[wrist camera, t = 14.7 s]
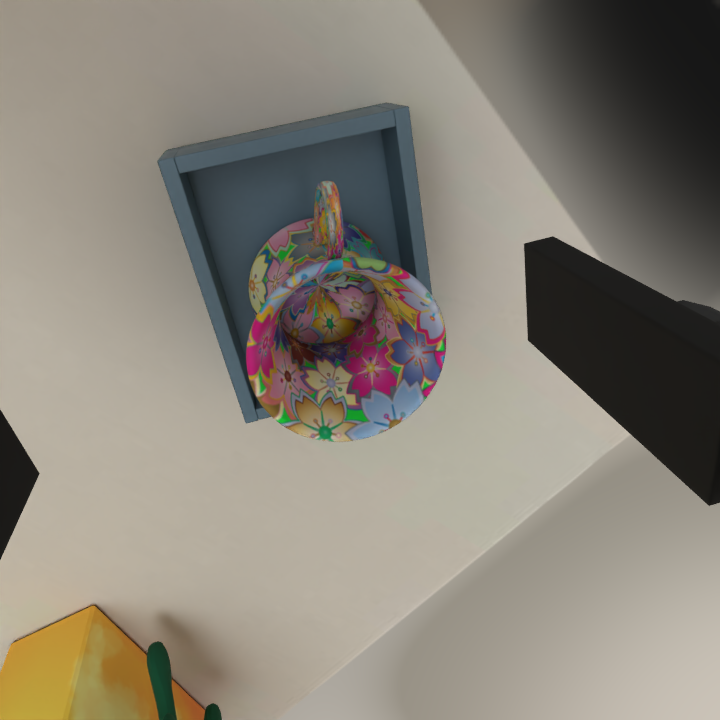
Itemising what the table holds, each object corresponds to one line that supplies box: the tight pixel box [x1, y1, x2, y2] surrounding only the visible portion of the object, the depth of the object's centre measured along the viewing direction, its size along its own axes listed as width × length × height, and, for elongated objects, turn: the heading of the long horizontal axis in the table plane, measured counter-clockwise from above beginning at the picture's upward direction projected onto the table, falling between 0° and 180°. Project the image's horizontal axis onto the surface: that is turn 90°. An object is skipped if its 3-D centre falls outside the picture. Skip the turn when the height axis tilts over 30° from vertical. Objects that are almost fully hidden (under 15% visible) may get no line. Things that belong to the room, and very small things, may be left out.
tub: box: [158, 103, 432, 423], centre depth 33 cm, size 13×16×4 cm
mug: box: [246, 181, 446, 442], centre depth 30 cm, size 12×9×11 cm
